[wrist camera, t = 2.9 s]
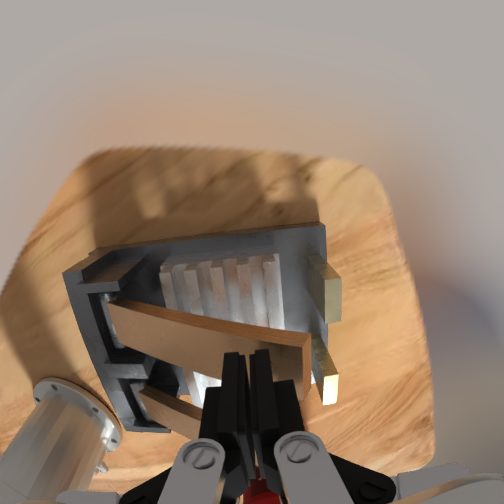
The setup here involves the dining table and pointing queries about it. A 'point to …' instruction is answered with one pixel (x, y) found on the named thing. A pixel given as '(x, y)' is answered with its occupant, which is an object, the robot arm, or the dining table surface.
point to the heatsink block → (207, 302)
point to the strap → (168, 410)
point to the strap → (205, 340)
